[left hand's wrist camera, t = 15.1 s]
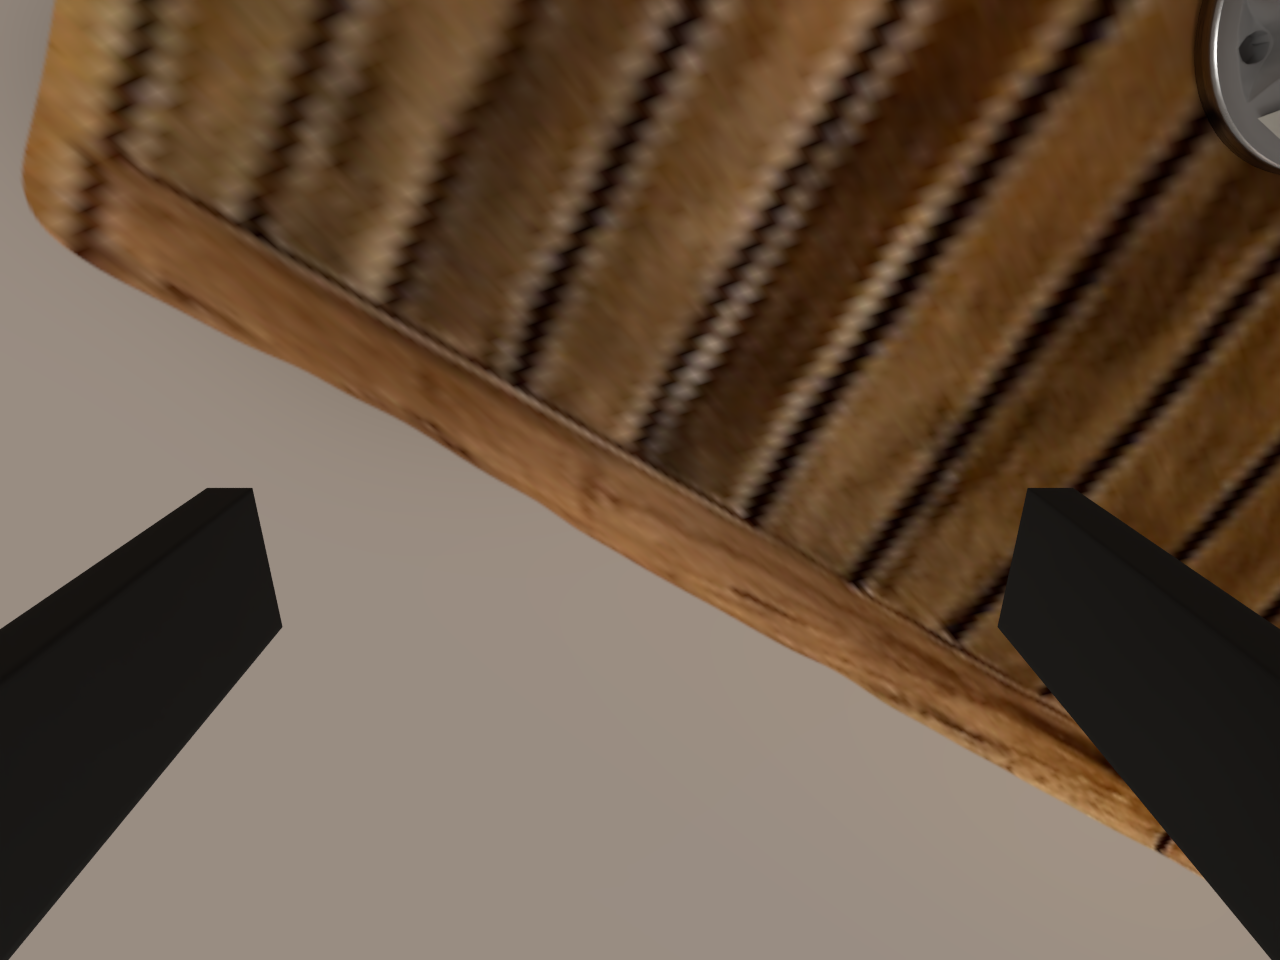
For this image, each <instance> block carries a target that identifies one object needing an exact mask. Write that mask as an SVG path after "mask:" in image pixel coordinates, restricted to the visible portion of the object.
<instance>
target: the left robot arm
mask: <svg viewBox="0 0 1280 960" xmlns="http://www.w3.org/2000/svg"><path fill="white" fill-rule="evenodd" d="M1195 74H1196V82H1197V88H1198V93H1199V97H1200V100H1201V103H1202V106H1203V109H1204V112H1205V114H1206V116H1207V118H1208V121H1209V123H1210V124H1211V126H1212V128H1213V129H1214V131H1215V133H1216V134H1217V135H1218V137H1219V138H1220V139H1221V140H1222V142H1223V143H1224V144H1225V145H1226V146H1227V147H1228V148H1229V149H1230V150H1231V151H1232V152H1233V153H1234V154H1236V155H1237V156H1238V157H1240V158H1241V159H1242V160H1244V161H1246V162H1248V163H1249V164H1251V165H1253V166H1255V167H1257V168H1260V169H1262V170H1265V171H1268V172H1272V173H1275V174H1279V175H1280V0H1203V2H1202V6H1201V10H1200V14H1199V19H1198V24H1197V30H1196V40H1195ZM281 628H282V623H281V618H280V614H279V609H278V604H277V600H276V595H275V590H274V586H273V581H272V577H271V572H270V567H269V563H268V558H267V554H266V549H265V544H264V540H263V535H262V530H261V526H260V521H259V517H258V512H257V507H256V503H255V498H254V494H253V489H252V488H206V489H205V490H204V491H202V492H201V493H199V494H198V495H196V496H195V497H193V498H192V499H190V500H189V501H187V502H186V503H184V504H183V505H182V506H180V507H179V508H177V509H176V510H174V511H173V512H171V513H170V514H168V515H167V516H165V517H164V518H162V519H161V520H160V521H158V522H157V523H155V524H154V525H152V526H151V527H149V528H148V529H146V530H145V531H143V532H142V533H141V534H139V535H138V536H136V537H135V538H133V539H132V540H130V541H129V542H127V543H126V544H124V545H123V546H121V547H120V548H119V549H117V550H116V551H114V552H113V553H111V554H110V555H108V556H107V557H105V558H104V559H102V560H101V561H99V562H98V563H97V564H95V565H94V566H92V567H91V568H89V569H88V570H86V571H85V572H83V573H82V574H80V575H79V576H78V577H76V578H75V579H73V580H72V581H70V582H69V583H67V584H66V585H64V586H63V587H61V588H60V589H58V590H57V591H56V592H54V593H53V594H51V595H50V596H48V597H47V598H45V599H44V600H42V601H41V602H39V603H38V604H37V605H35V606H34V607H32V608H31V609H29V610H28V611H26V612H25V613H23V614H22V615H20V616H19V617H18V618H16V619H15V620H13V621H12V622H10V623H9V624H7V625H6V626H4V627H3V628H1V629H0V960H9V958H10V957H11V956H12V955H13V954H14V952H15V951H16V950H17V949H18V948H19V946H20V945H21V944H22V943H23V941H24V940H25V939H26V938H27V937H28V935H29V934H30V933H31V932H32V931H33V929H34V928H35V927H36V926H37V924H38V923H39V922H40V921H41V920H42V918H43V917H44V916H45V915H46V914H47V912H48V911H49V910H50V909H51V907H52V906H53V905H54V904H55V903H56V901H57V900H58V899H59V898H60V897H61V895H62V894H63V893H64V892H65V890H66V889H67V888H68V887H69V886H70V884H71V883H72V882H73V881H74V880H75V878H76V877H77V876H78V875H79V873H80V872H81V871H82V870H83V869H84V867H85V866H86V865H87V864H88V862H89V861H90V860H91V859H92V858H93V856H94V855H95V854H96V853H97V852H98V850H99V849H100V848H101V847H102V845H103V844H104V843H105V842H106V841H107V839H108V838H109V837H110V836H111V835H112V833H113V832H114V831H115V830H116V828H117V827H118V826H119V825H120V824H121V822H122V821H123V820H124V819H125V817H126V816H127V815H128V814H129V813H130V811H131V810H132V809H133V808H134V807H135V805H136V804H137V803H138V802H139V801H140V799H141V798H142V797H143V796H144V794H145V793H146V792H147V791H148V790H149V788H150V787H151V786H152V785H153V784H154V782H155V781H156V780H157V779H158V777H159V776H160V775H161V774H162V772H163V771H164V770H165V769H166V768H167V767H168V765H169V764H170V763H171V762H172V760H173V759H174V758H175V757H176V756H177V754H178V753H179V752H180V751H181V749H182V748H183V747H184V746H185V745H186V743H187V742H188V741H189V740H190V739H191V737H192V736H193V735H194V734H195V732H196V731H197V730H198V729H199V728H200V726H201V725H202V724H203V723H204V722H205V720H206V719H207V718H208V717H209V715H210V714H211V713H212V712H213V711H214V709H215V708H216V707H217V706H218V705H219V703H220V702H221V701H222V700H223V698H224V697H225V696H226V695H227V694H228V692H229V691H230V690H231V689H232V687H233V686H234V685H235V684H236V683H237V681H238V680H239V679H240V678H241V677H242V675H243V674H244V673H245V672H246V671H247V669H248V668H249V667H250V666H251V664H252V663H253V662H254V661H255V660H256V658H257V657H258V656H259V655H260V654H261V652H262V651H263V650H264V649H265V647H266V646H267V645H268V644H269V643H270V641H271V640H272V639H273V638H274V636H275V635H276V634H277V633H278V632H279V630H280V629H281ZM998 628H999V629H1000V630H1001V632H1002V633H1003V634H1004V635H1005V637H1006V638H1007V639H1008V640H1009V641H1010V643H1011V644H1012V645H1013V646H1014V647H1015V649H1016V650H1017V651H1018V652H1019V654H1020V655H1021V656H1022V657H1023V658H1024V660H1025V661H1026V662H1027V663H1028V664H1029V666H1030V667H1031V668H1032V669H1033V671H1034V672H1035V673H1036V674H1037V675H1038V677H1039V678H1040V679H1041V680H1042V681H1043V683H1044V684H1045V685H1046V686H1047V688H1048V689H1049V690H1050V691H1051V692H1052V694H1053V695H1054V696H1055V697H1056V698H1057V700H1058V701H1059V702H1060V703H1061V705H1062V706H1063V707H1064V708H1065V709H1066V711H1067V712H1068V713H1069V714H1070V715H1071V717H1072V718H1073V719H1074V720H1075V722H1076V723H1077V724H1078V725H1079V726H1080V728H1081V729H1082V730H1083V731H1084V732H1085V734H1086V735H1087V736H1088V737H1089V739H1090V740H1091V741H1092V742H1093V743H1094V745H1095V746H1096V747H1097V748H1098V749H1099V751H1100V752H1101V753H1102V754H1103V756H1104V757H1105V758H1106V759H1107V760H1108V762H1109V763H1110V764H1111V765H1112V767H1113V768H1114V769H1115V770H1116V771H1117V773H1118V774H1119V775H1120V776H1121V777H1122V779H1123V780H1124V781H1125V782H1126V784H1127V785H1128V786H1129V787H1130V788H1131V790H1132V791H1133V792H1134V793H1135V794H1136V796H1137V797H1138V798H1139V799H1140V801H1141V802H1142V803H1143V804H1144V805H1145V807H1146V808H1147V809H1148V810H1149V811H1150V813H1151V814H1152V815H1153V816H1154V818H1155V819H1156V820H1157V821H1158V822H1159V824H1160V825H1161V826H1162V827H1163V828H1164V830H1165V831H1166V832H1167V833H1168V835H1169V836H1170V837H1171V838H1172V839H1173V841H1174V842H1175V843H1176V844H1177V845H1178V847H1179V848H1180V849H1181V850H1182V852H1183V853H1184V854H1185V855H1186V856H1187V858H1188V859H1189V860H1190V861H1191V862H1192V864H1193V865H1194V866H1195V867H1196V869H1197V870H1198V871H1199V872H1200V873H1201V875H1202V876H1203V877H1204V878H1205V880H1206V881H1207V882H1208V883H1209V884H1210V886H1211V887H1212V888H1213V889H1214V890H1215V892H1216V893H1217V894H1218V895H1219V896H1220V898H1221V899H1222V900H1223V901H1224V903H1225V904H1226V905H1227V906H1228V907H1229V909H1230V910H1231V911H1232V912H1233V914H1234V915H1235V916H1236V917H1237V918H1238V920H1239V921H1240V922H1241V923H1242V924H1243V926H1244V927H1245V928H1246V929H1247V930H1248V932H1249V933H1250V934H1251V935H1252V937H1253V938H1254V939H1255V940H1256V941H1257V943H1258V944H1259V945H1260V946H1261V948H1262V949H1263V950H1264V951H1265V952H1266V954H1267V955H1268V956H1269V957H1270V958H1271V960H1280V629H1279V628H1277V627H1276V626H1274V625H1273V624H1271V623H1270V622H1268V621H1267V620H1265V619H1264V618H1263V617H1261V616H1260V615H1258V614H1257V613H1255V612H1254V611H1252V610H1251V609H1249V608H1248V607H1246V606H1245V605H1243V604H1242V603H1241V602H1239V601H1238V600H1236V599H1235V598H1233V597H1232V596H1230V595H1229V594H1227V593H1226V592H1224V591H1223V590H1222V589H1220V588H1219V587H1217V586H1216V585H1214V584H1213V583H1211V582H1210V581H1208V580H1207V579H1205V578H1204V577H1202V576H1201V575H1200V574H1198V573H1197V572H1195V571H1194V570H1192V569H1191V568H1189V567H1188V566H1186V565H1185V564H1183V563H1182V562H1181V561H1179V560H1178V559H1176V558H1175V557H1173V556H1172V555H1170V554H1169V553H1167V552H1166V551H1164V550H1163V549H1161V548H1160V547H1159V546H1157V545H1156V544H1154V543H1153V542H1151V541H1150V540H1148V539H1147V538H1145V537H1144V536H1142V535H1141V534H1140V533H1138V532H1137V531H1135V530H1134V529H1132V528H1131V527H1129V526H1128V525H1126V524H1125V523H1123V522H1122V521H1120V520H1119V519H1118V518H1116V517H1115V516H1113V515H1112V514H1110V513H1109V512H1107V511H1106V510H1104V509H1103V508H1101V507H1100V506H1099V505H1097V504H1096V503H1094V502H1093V501H1091V500H1090V499H1088V498H1087V497H1085V496H1084V495H1082V494H1081V493H1079V492H1078V491H1077V490H1075V489H1074V488H1028V489H1027V493H1026V498H1025V503H1024V507H1023V512H1022V517H1021V521H1020V526H1019V530H1018V535H1017V540H1016V544H1015V549H1014V553H1013V558H1012V563H1011V567H1010V572H1009V577H1008V581H1007V586H1006V590H1005V595H1004V600H1003V604H1002V609H1001V614H1000V618H999V623H998Z"/></svg>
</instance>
